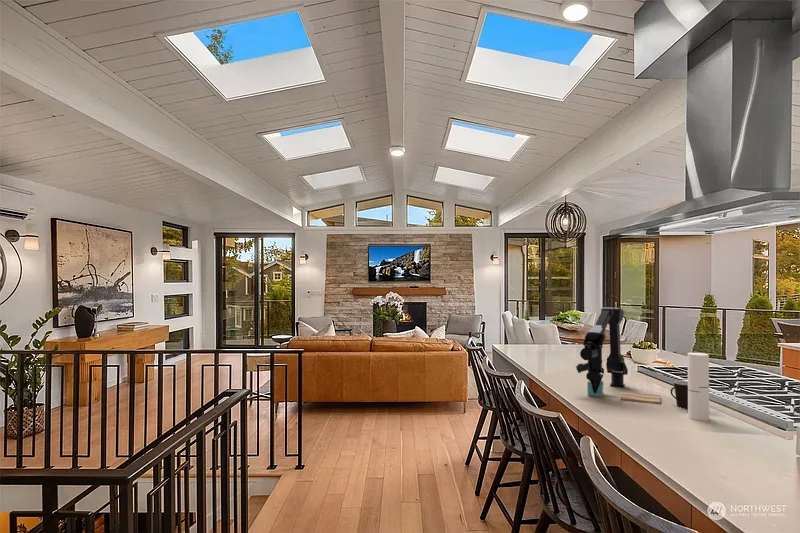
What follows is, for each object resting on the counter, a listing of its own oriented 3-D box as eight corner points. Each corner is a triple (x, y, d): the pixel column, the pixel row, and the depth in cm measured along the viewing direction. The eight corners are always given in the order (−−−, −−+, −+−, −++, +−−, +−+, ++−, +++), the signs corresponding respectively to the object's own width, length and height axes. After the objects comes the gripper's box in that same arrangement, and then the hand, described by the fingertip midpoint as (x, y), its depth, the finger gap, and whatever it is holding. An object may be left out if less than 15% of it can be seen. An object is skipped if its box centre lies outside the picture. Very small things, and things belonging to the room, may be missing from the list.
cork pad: (622, 393, 242) (622, 391, 242) (660, 397, 235) (660, 395, 235) (620, 400, 229) (620, 398, 229) (660, 404, 222) (660, 402, 222)
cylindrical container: (712, 421, 196) (711, 355, 197) (691, 420, 198) (691, 355, 198) (705, 416, 203) (704, 352, 204) (685, 415, 205) (685, 352, 205)
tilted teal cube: (589, 392, 244) (588, 379, 244) (603, 394, 241) (603, 381, 241) (587, 395, 238) (587, 382, 238) (602, 396, 235) (602, 383, 235)
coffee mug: (691, 404, 222) (691, 381, 222) (701, 409, 213) (700, 385, 213) (663, 403, 223) (663, 380, 223) (671, 408, 214) (671, 384, 214)
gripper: (579, 354, 252) (579, 385, 252) (574, 359, 235) (574, 393, 235) (604, 355, 247) (604, 388, 247) (600, 361, 230) (600, 396, 230)
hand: (595, 391), depth 240 cm, fingers closed on tilted teal cube, 6 cm apart
